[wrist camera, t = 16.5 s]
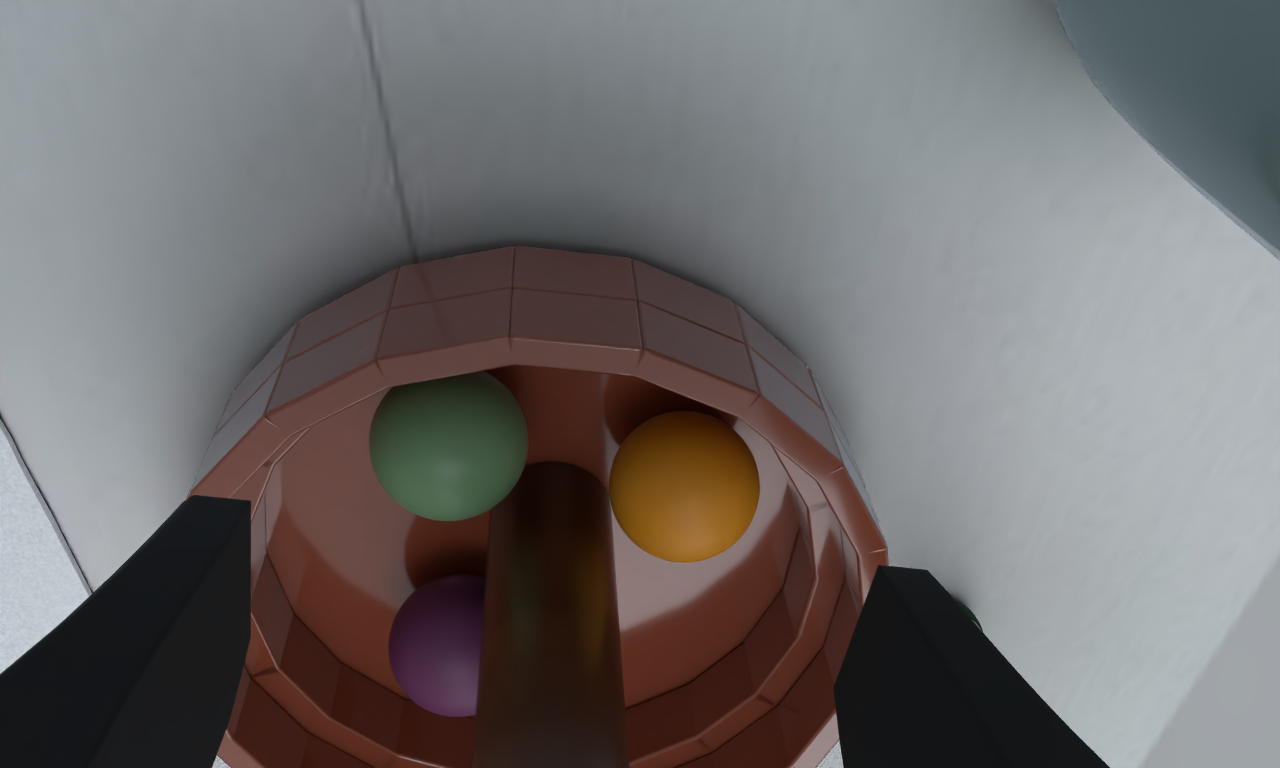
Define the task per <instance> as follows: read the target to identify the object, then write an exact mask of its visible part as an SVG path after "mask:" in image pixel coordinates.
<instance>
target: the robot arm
mask: <svg viewBox="0 0 1280 768" xmlns="http://www.w3.org/2000/svg"><path fill="white" fill-rule="evenodd" d="M250 639H251V501H250V500H240V499H230V498H220V497H211V496H201V495H193V496H191V497H190V498H188V499H187V500H185V501H184V502H183V503H182V504H181V505H180V506H179V507H178V508H177V509H176V510H175V511H174V512H173V514H172V515H171V516H170V517H169V518H168V519H167V520H166V521H165V522H164V523H163V524H162V525H161V526H160V527H159V528H158V529H157V530H156V532H155V533H154V534H153V535H152V536H151V537H150V538H149V539H148V540H147V541H146V542H145V543H144V544H143V545H142V546H141V547H140V548H139V549H138V550H137V551H136V552H135V553H134V554H133V555H132V556H131V557H130V558H129V559H128V560H127V561H126V562H125V563H124V564H123V565H122V566H121V567H120V568H119V569H118V570H117V571H116V572H115V573H114V574H113V575H112V576H111V577H110V578H109V579H107V580H106V581H105V582H104V583H103V584H102V585H101V586H100V587H99V588H98V589H97V590H96V591H95V592H94V593H92V594H91V595H90V596H89V597H88V598H87V599H86V600H85V601H84V602H83V603H82V604H81V605H80V606H79V607H77V608H76V609H75V610H74V611H73V612H72V613H71V614H70V615H69V616H68V617H67V618H66V619H64V620H63V621H62V622H61V623H60V624H59V625H58V626H57V627H55V628H54V629H53V630H52V631H51V632H50V633H48V634H47V635H46V636H45V637H44V638H42V639H41V640H40V641H39V642H38V643H36V644H35V645H34V646H33V647H32V648H30V649H29V650H28V651H27V652H26V653H25V654H23V655H22V656H21V657H20V658H19V659H17V660H16V661H15V662H14V663H13V664H11V665H10V666H9V667H8V668H7V669H5V670H4V671H3V672H2V673H1V674H0V768H212V766H213V763H214V761H215V758H216V755H217V753H218V750H219V748H220V745H221V742H222V740H223V737H224V734H225V732H226V729H227V726H228V724H229V721H230V717H231V713H232V710H233V706H234V702H235V698H236V694H237V691H238V687H239V683H240V679H241V675H242V671H243V667H244V663H245V659H246V655H247V651H248V647H249V643H250ZM833 691H834V700H835V708H836V716H837V724H838V733H839V739H840V746H841V753H842V759H843V766H844V768H1110V767H1109V766H1108V765H1107V764H1106V763H1105V762H1104V761H1103V760H1102V759H1101V758H1100V757H1099V756H1098V755H1097V754H1096V753H1095V752H1094V751H1093V750H1092V749H1091V748H1089V747H1088V746H1087V745H1086V744H1085V743H1084V742H1083V741H1082V740H1081V739H1080V738H1079V737H1078V736H1077V735H1076V734H1075V733H1074V732H1073V731H1072V730H1071V729H1070V728H1069V727H1068V725H1067V724H1066V723H1065V722H1064V721H1063V720H1062V719H1061V718H1060V717H1059V716H1058V715H1057V714H1056V713H1055V712H1054V711H1053V710H1052V709H1051V708H1050V707H1049V706H1048V704H1047V703H1046V702H1045V701H1044V700H1043V699H1042V698H1041V697H1040V696H1039V695H1038V694H1037V693H1036V692H1035V690H1034V689H1033V688H1032V687H1031V686H1030V685H1029V684H1028V683H1027V682H1026V681H1025V680H1024V678H1023V677H1022V676H1021V675H1020V674H1019V673H1018V672H1017V671H1016V670H1015V668H1014V667H1013V666H1012V665H1011V664H1010V663H1009V662H1008V661H1007V659H1006V658H1005V657H1004V656H1003V655H1002V654H1001V653H1000V652H999V650H998V649H997V648H996V647H995V646H994V645H993V644H992V642H991V641H990V640H989V639H988V638H987V637H986V636H985V634H984V633H983V632H982V631H981V630H980V629H979V628H978V626H977V625H976V624H975V623H974V622H973V621H972V619H971V618H970V617H969V616H968V615H967V614H966V613H965V611H964V610H963V609H962V608H961V607H960V606H959V605H958V603H957V602H956V601H955V600H954V599H953V598H952V597H951V595H950V594H949V593H948V592H947V591H946V590H945V589H944V588H943V586H942V585H941V584H940V583H939V582H938V581H937V580H936V579H935V578H934V577H933V576H932V575H931V573H930V572H929V571H928V570H922V569H912V568H902V567H892V566H883V565H878V567H877V570H876V572H875V575H874V578H873V581H872V583H871V586H870V589H869V592H868V594H867V597H866V600H865V602H864V605H863V608H862V611H861V613H860V616H859V619H858V622H857V624H856V627H855V630H854V632H853V635H852V638H851V641H850V643H849V646H848V649H847V652H846V654H845V657H844V660H843V663H842V665H841V668H840V671H839V673H838V676H837V679H836V682H835V684H834V687H833Z"/></svg>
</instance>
